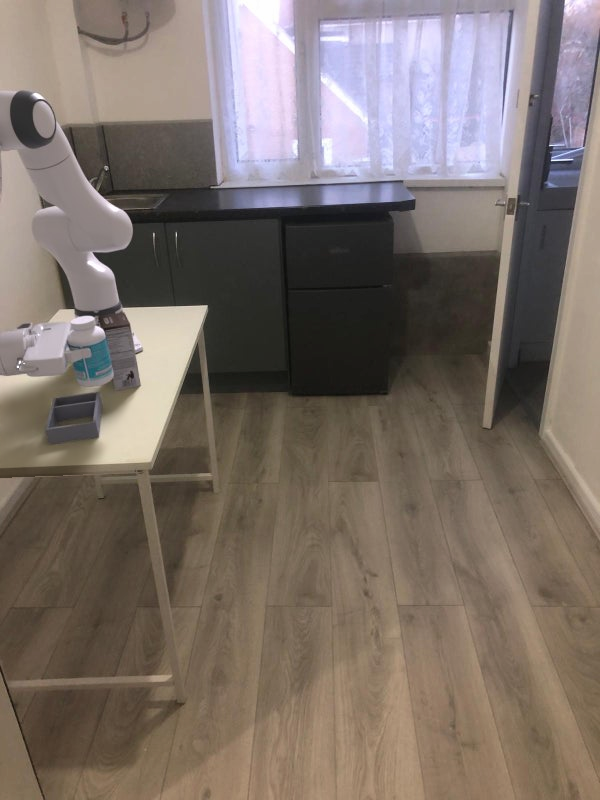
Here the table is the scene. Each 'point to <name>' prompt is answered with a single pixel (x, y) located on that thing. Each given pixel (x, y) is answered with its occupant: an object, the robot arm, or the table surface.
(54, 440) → the parts tub
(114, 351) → the coffee box
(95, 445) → the table surface
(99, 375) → the pill bottle
